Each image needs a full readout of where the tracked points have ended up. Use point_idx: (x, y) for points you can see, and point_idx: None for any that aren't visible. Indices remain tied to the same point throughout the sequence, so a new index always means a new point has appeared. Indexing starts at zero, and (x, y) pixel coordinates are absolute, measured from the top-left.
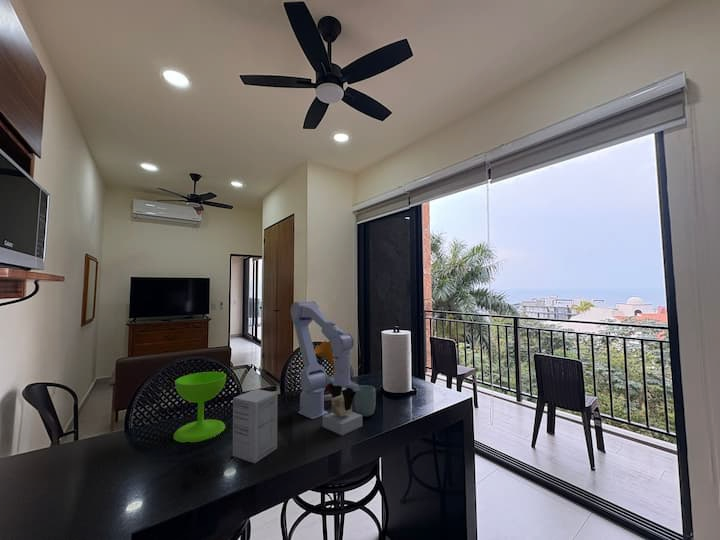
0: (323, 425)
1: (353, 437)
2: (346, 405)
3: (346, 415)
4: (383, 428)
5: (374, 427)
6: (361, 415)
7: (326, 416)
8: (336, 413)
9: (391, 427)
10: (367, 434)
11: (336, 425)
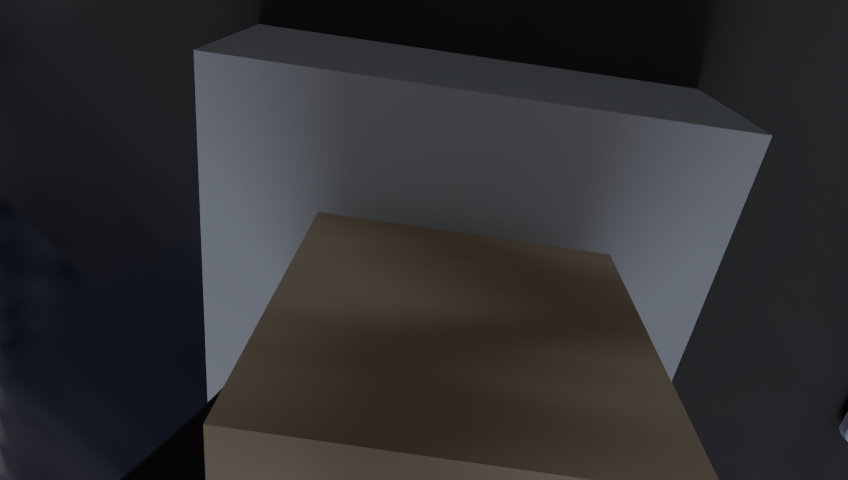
0: (682, 90)
1: (99, 72)
2: (186, 426)
3: None
4: (49, 426)
5: (131, 402)
6: None
7: (682, 160)
8: (466, 245)
9: (15, 473)
10: (48, 236)
11: (358, 59)
